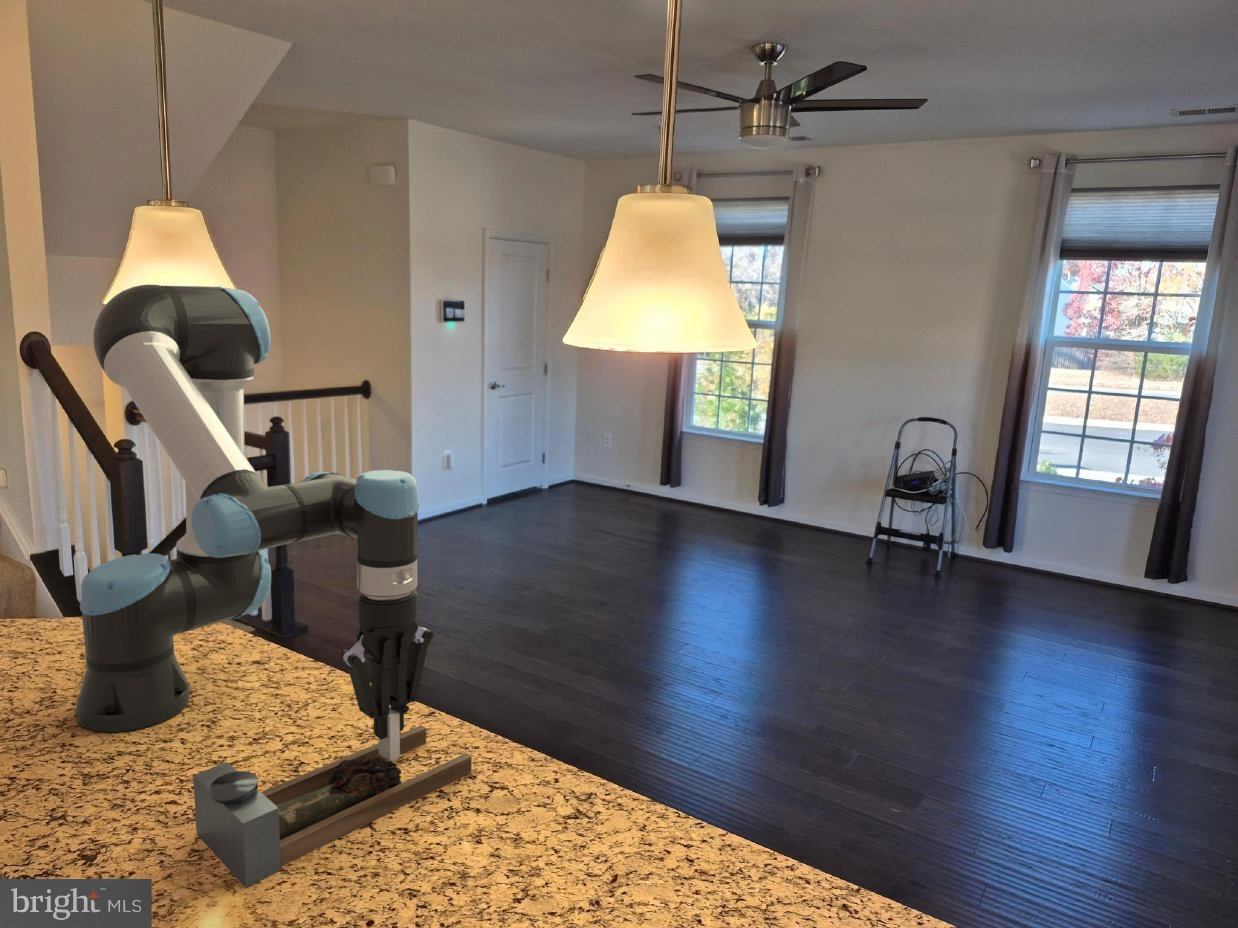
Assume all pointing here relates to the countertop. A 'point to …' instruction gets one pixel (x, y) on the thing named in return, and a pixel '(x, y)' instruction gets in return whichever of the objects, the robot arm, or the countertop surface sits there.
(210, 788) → the block
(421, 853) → the countertop surface
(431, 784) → the channel rails
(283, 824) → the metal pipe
